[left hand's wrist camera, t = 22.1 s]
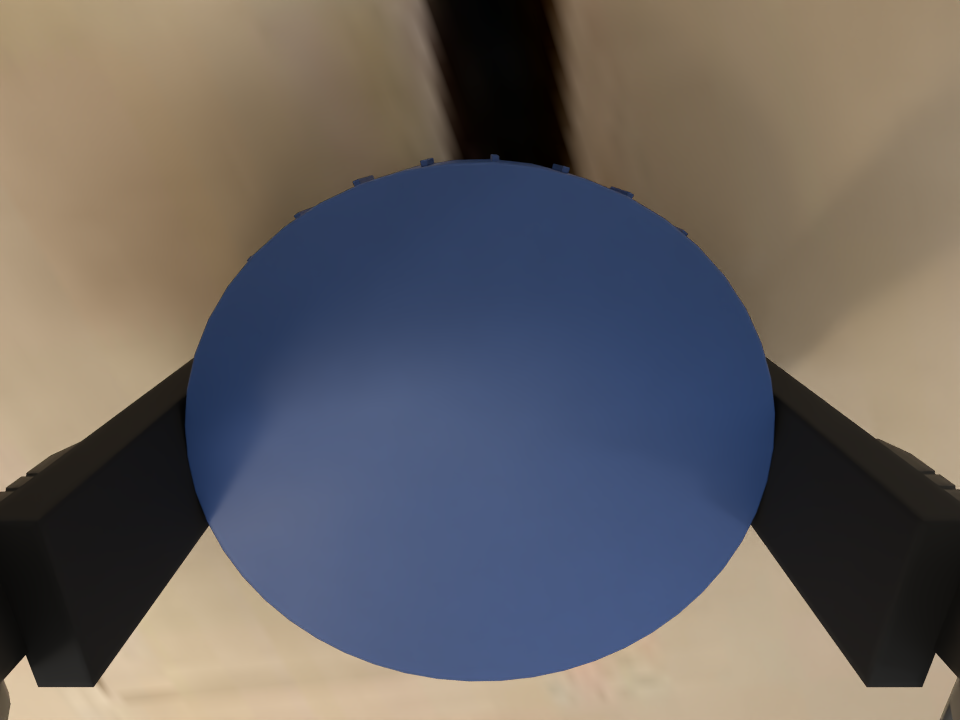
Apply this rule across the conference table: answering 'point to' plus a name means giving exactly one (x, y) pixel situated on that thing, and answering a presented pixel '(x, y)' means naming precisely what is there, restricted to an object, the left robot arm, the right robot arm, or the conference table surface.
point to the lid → (479, 420)
